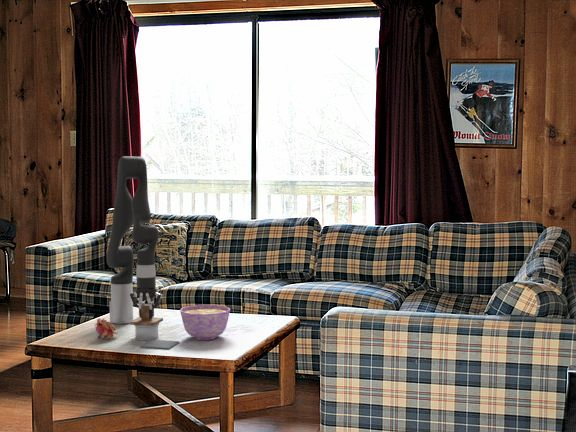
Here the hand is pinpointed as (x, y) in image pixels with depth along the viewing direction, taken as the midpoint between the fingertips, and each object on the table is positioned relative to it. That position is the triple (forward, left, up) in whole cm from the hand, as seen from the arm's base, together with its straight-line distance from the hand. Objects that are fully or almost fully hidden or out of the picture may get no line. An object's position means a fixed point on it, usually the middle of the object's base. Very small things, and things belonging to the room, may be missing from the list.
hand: (146, 317), depth 335 cm
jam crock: (0, 0, -8) cm, 8 cm away
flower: (-15, -5, -8) cm, 18 cm away
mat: (+10, -11, -8) cm, 17 cm away
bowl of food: (+23, +5, -8) cm, 25 cm away
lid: (0, 0, -2) cm, 2 cm away
